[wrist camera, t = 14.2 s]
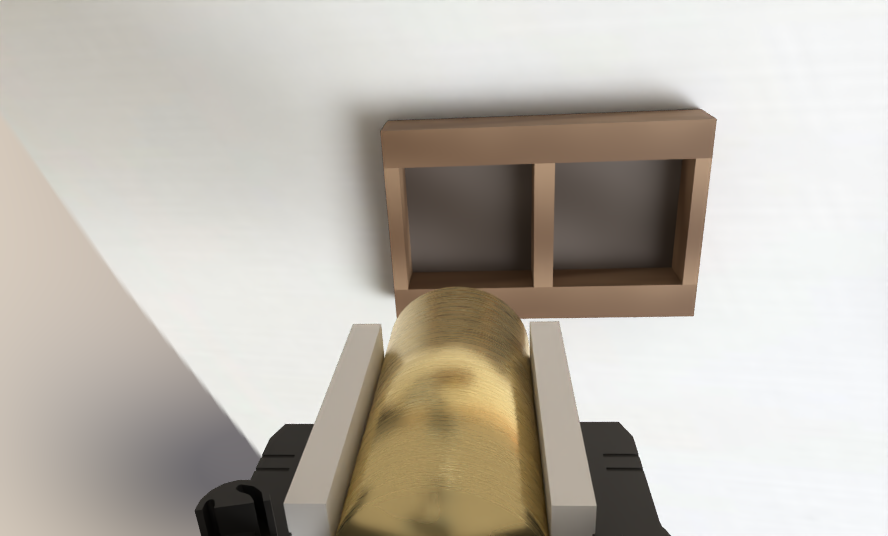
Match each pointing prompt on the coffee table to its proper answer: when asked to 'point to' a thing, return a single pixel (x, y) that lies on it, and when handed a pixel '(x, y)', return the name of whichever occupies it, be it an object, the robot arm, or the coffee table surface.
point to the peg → (451, 427)
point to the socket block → (552, 210)
